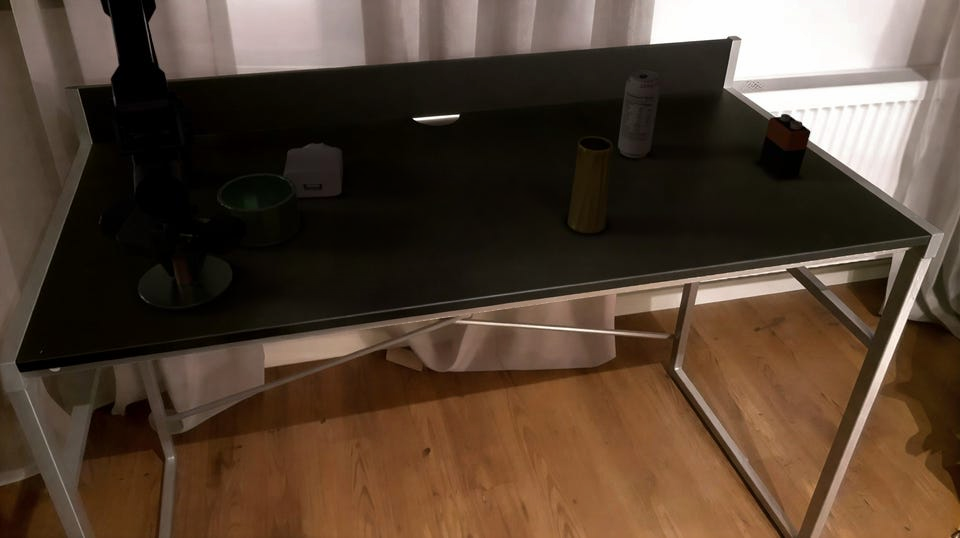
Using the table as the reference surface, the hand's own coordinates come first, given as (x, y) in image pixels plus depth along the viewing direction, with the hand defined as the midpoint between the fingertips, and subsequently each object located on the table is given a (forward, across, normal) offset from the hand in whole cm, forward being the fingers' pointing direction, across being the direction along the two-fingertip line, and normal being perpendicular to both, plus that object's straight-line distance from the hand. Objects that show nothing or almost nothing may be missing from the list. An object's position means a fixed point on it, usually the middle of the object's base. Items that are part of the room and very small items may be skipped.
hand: (185, 277), depth 111 cm
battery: (+2, +83, +60) cm, 102 cm away
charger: (+2, +4, +35) cm, 35 cm away
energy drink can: (+2, +57, +60) cm, 83 cm away
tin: (+2, +3, +17) cm, 17 cm away
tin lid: (+1, 0, 0) cm, 1 cm away
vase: (+2, +52, +32) cm, 61 cm away
